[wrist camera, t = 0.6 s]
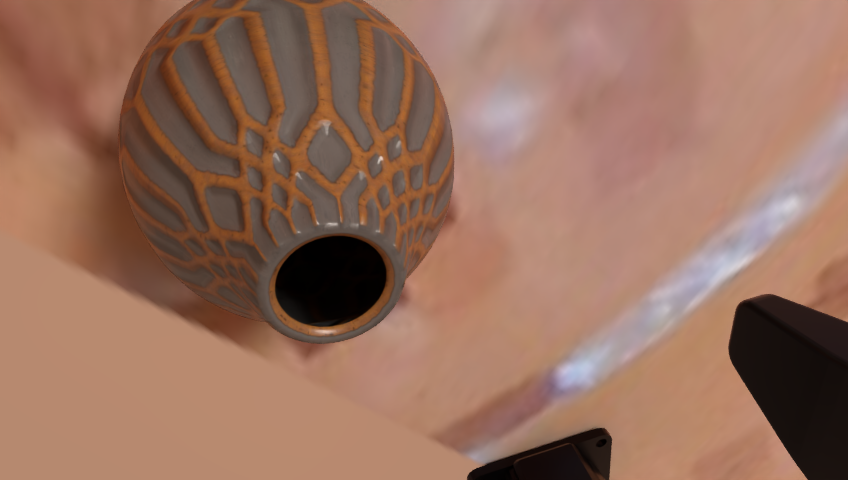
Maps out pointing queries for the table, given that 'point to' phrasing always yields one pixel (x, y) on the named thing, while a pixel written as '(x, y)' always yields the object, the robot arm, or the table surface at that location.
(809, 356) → the robot arm
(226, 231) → the vase
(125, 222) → the table surface
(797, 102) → the table surface
